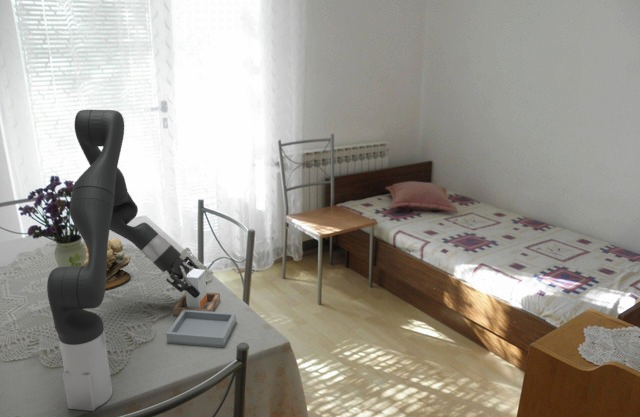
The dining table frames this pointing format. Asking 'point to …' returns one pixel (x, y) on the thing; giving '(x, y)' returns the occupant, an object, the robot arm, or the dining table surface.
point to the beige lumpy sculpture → (114, 265)
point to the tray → (202, 328)
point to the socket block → (181, 303)
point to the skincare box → (199, 282)
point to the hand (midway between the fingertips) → (201, 290)
